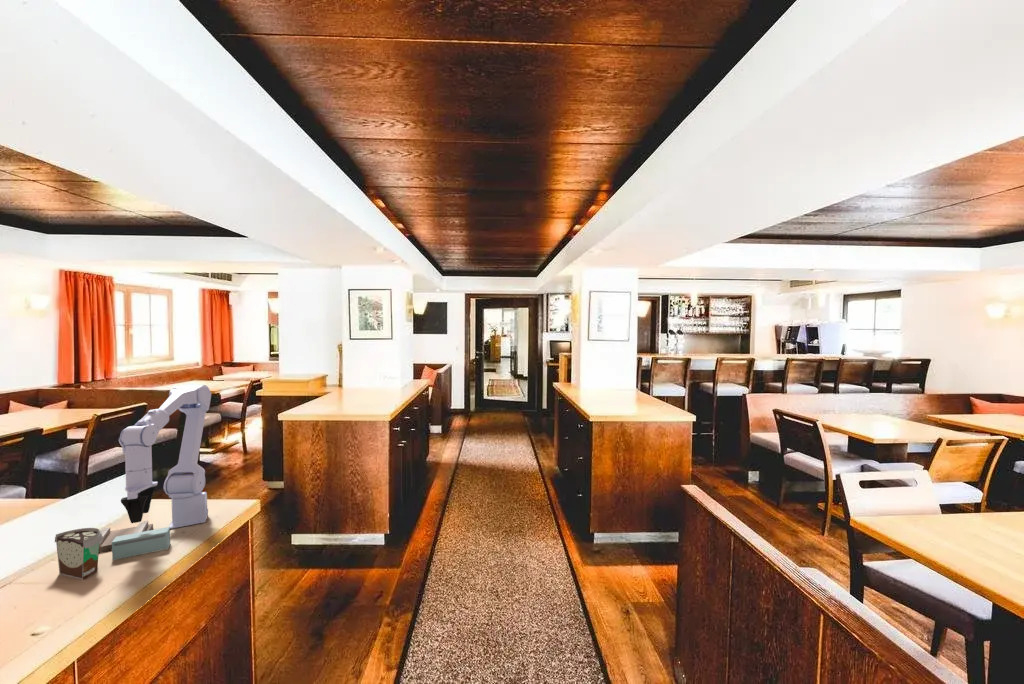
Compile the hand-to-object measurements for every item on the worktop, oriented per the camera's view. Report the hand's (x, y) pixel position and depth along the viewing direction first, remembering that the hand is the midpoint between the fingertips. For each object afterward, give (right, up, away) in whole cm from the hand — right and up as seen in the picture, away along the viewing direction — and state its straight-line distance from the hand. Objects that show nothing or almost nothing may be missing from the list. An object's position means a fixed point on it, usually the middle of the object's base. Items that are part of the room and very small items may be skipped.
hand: (140, 517), depth 126 cm
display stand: (-12, -10, +7) cm, 17 cm away
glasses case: (0, -10, 0) cm, 10 cm away
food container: (-6, -10, -10) cm, 15 cm away
